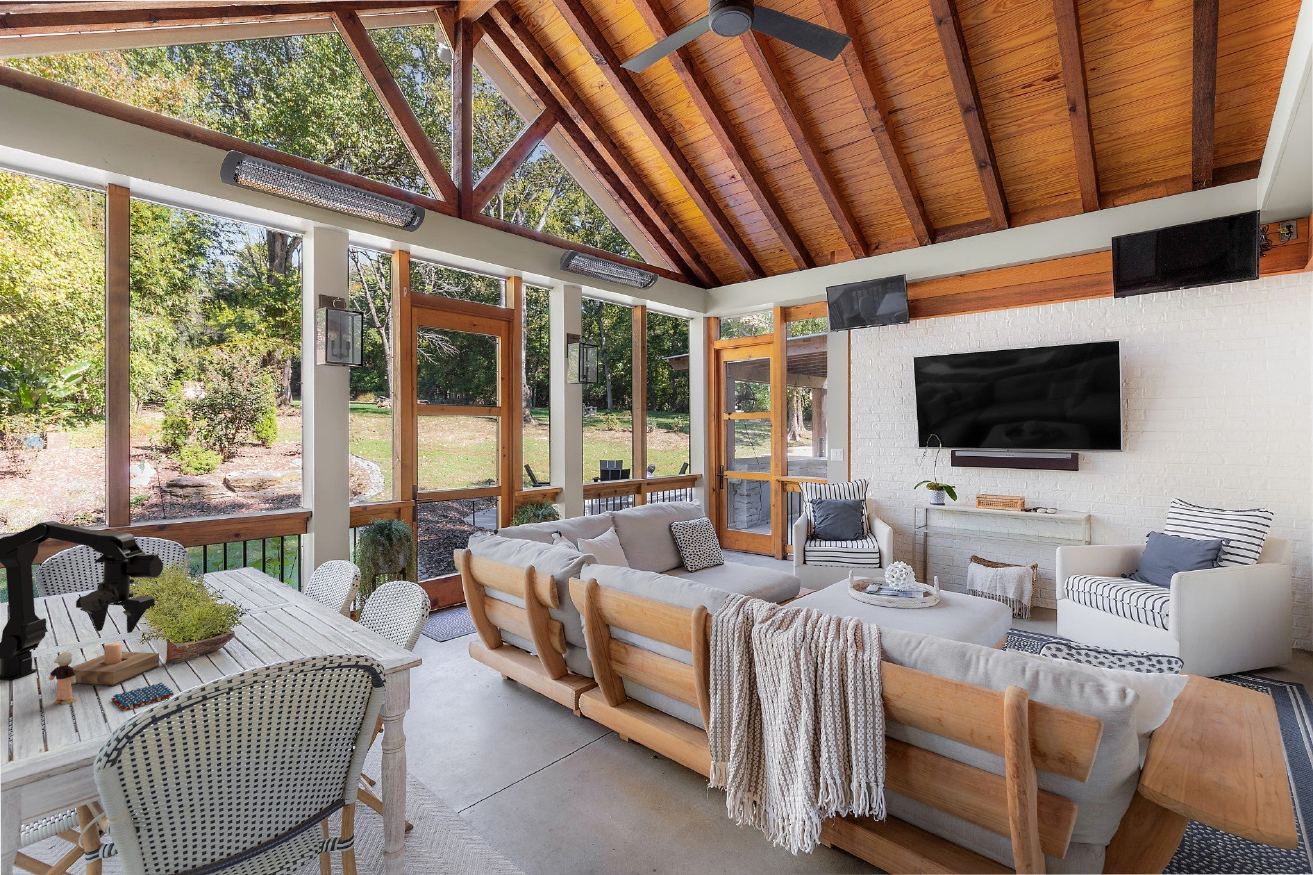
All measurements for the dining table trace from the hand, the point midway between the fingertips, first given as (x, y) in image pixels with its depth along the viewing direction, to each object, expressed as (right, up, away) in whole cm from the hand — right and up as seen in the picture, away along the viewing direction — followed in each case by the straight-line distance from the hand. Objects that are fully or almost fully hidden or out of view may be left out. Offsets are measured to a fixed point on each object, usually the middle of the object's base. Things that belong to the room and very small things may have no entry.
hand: (114, 631), depth 169 cm
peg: (+1, -11, -2) cm, 11 cm away
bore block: (+1, -12, -2) cm, 12 cm away
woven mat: (+22, -13, -16) cm, 30 cm away
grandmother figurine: (+4, -12, -18) cm, 22 cm away
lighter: (+11, -12, +11) cm, 20 cm away
